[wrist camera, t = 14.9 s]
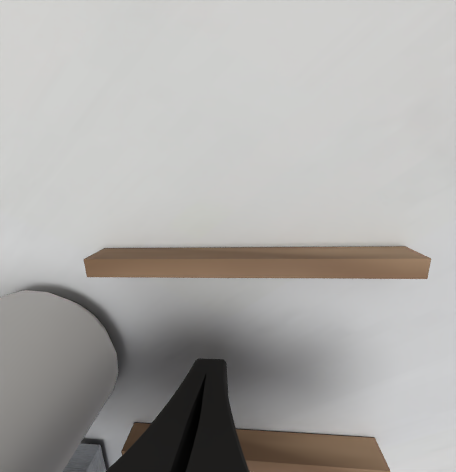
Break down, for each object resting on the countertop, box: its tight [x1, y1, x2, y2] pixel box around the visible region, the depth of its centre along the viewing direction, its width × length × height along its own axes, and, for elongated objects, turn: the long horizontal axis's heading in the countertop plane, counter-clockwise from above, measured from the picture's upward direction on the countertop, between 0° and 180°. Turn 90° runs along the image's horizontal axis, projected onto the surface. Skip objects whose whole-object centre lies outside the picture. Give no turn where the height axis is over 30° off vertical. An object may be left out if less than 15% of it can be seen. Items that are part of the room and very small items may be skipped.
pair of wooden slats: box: [84, 246, 431, 472], centre depth 12 cm, size 12×14×2 cm
